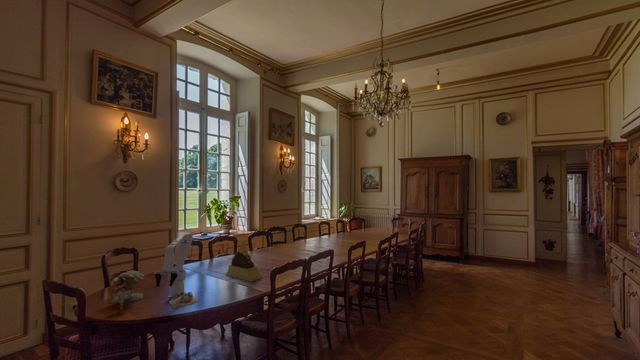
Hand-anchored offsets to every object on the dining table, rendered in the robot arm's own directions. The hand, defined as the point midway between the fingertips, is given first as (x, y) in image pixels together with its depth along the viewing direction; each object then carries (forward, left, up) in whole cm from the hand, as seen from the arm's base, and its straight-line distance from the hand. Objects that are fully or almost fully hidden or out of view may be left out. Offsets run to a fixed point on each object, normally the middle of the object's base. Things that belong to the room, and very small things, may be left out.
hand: (164, 286), depth 195 cm
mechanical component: (+3, -23, -13) cm, 27 cm away
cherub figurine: (-17, -30, -13) cm, 37 cm away
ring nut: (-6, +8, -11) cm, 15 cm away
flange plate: (-10, +8, -13) cm, 18 cm away
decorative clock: (-66, +34, -13) cm, 75 cm away
